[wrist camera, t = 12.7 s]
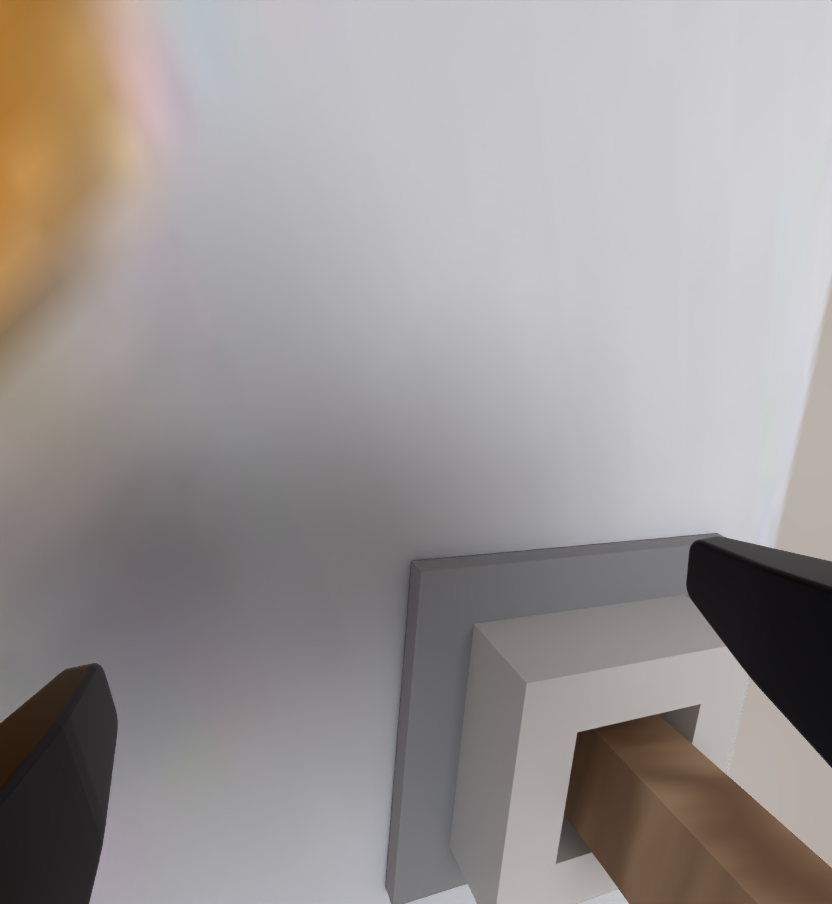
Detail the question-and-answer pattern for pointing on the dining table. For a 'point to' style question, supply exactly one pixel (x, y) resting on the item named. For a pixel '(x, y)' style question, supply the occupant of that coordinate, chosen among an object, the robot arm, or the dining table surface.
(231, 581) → the dining table surface
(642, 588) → the socket board
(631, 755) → the walnut peg
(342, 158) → the dining table surface
